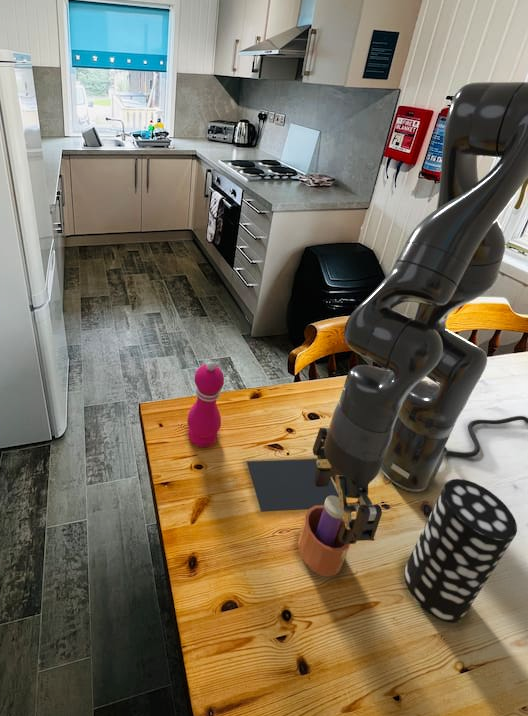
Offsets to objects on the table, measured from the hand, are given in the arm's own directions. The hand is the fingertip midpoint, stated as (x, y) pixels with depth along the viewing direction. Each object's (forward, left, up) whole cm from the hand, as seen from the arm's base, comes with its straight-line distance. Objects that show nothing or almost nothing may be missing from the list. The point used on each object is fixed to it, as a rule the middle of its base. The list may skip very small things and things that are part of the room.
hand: (332, 510), depth 62 cm
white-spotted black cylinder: (-16, +6, -11) cm, 21 cm away
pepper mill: (+16, -24, -11) cm, 31 cm away
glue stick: (0, 0, -11) cm, 11 cm away
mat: (0, -12, -11) cm, 16 cm away
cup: (0, 0, -11) cm, 11 cm away
